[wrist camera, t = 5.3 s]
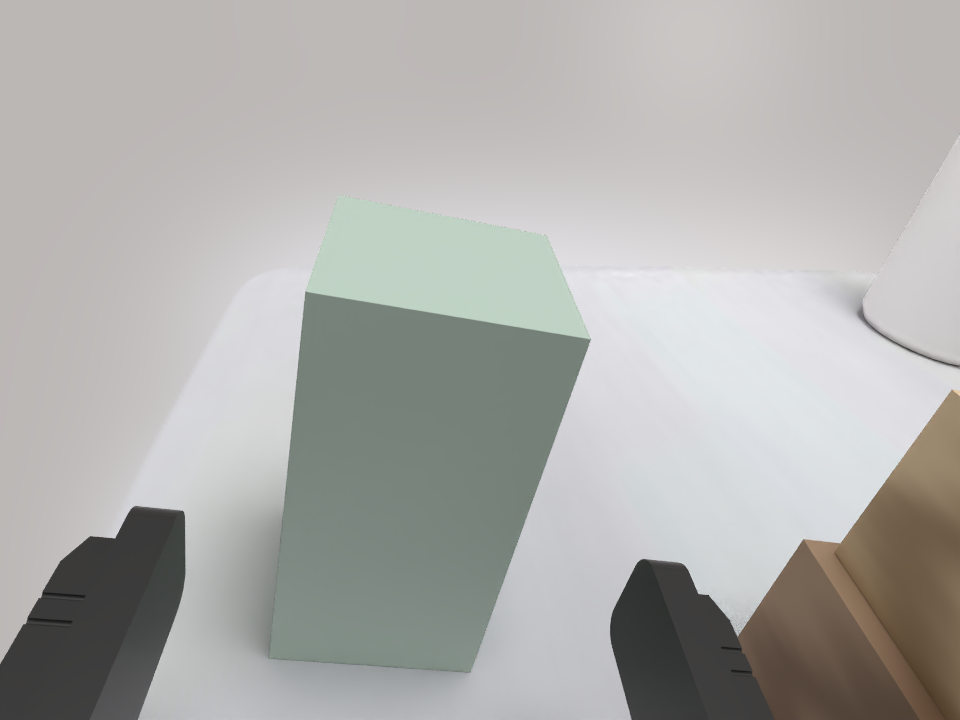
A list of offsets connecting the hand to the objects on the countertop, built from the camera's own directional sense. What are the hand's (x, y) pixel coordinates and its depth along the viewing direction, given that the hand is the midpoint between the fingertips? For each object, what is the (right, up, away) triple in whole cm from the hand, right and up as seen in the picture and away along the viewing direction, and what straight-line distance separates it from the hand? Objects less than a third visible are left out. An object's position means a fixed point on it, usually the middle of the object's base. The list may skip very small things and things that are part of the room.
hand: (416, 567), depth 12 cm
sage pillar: (-2, -3, +7) cm, 8 cm away
